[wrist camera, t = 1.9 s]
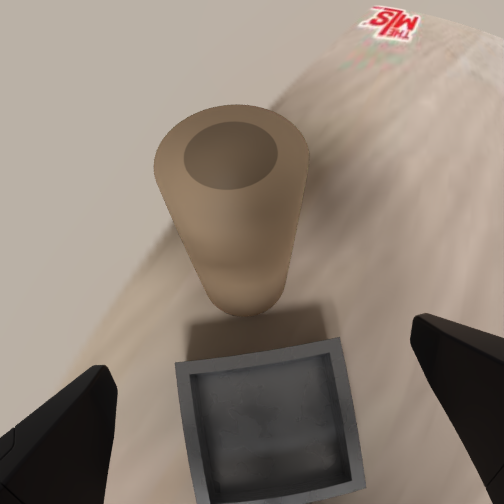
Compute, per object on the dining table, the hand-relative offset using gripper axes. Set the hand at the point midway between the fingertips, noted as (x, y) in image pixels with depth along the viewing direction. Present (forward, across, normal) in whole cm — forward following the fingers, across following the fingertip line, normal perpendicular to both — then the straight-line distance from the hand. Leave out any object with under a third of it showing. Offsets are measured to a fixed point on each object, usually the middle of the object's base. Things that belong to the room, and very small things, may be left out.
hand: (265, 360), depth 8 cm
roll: (+15, 0, +4) cm, 15 cm away
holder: (+7, 0, +12) cm, 14 cm away
